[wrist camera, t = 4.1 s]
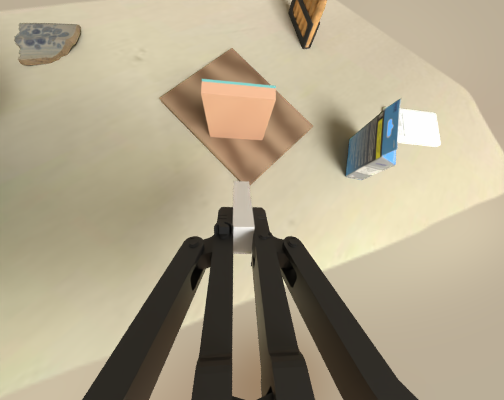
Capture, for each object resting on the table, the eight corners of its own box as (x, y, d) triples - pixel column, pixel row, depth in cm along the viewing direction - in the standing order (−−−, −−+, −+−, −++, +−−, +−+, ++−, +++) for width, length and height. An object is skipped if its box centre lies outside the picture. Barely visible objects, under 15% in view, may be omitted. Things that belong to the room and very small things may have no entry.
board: (246, 188, 35) (247, 187, 34) (161, 101, 36) (159, 97, 35) (310, 128, 39) (313, 125, 38) (232, 52, 40) (232, 47, 39)
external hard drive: (433, 148, 42) (383, 142, 41) (428, 116, 44) (380, 110, 42) (441, 144, 41) (389, 138, 39) (436, 111, 42) (386, 105, 41)
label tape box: (361, 181, 38) (422, 156, 26) (343, 176, 38) (396, 149, 26) (365, 143, 40) (423, 103, 28) (347, 138, 39) (398, 96, 27)
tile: (262, 140, 36) (276, 99, 25) (210, 137, 35) (201, 93, 24) (262, 130, 36) (275, 85, 26) (210, 126, 35) (201, 78, 24)
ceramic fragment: (7, 61, 33) (7, 7, 33) (26, 74, 36) (26, 24, 36) (73, 63, 34) (72, 11, 34) (86, 75, 37) (85, 28, 38)
